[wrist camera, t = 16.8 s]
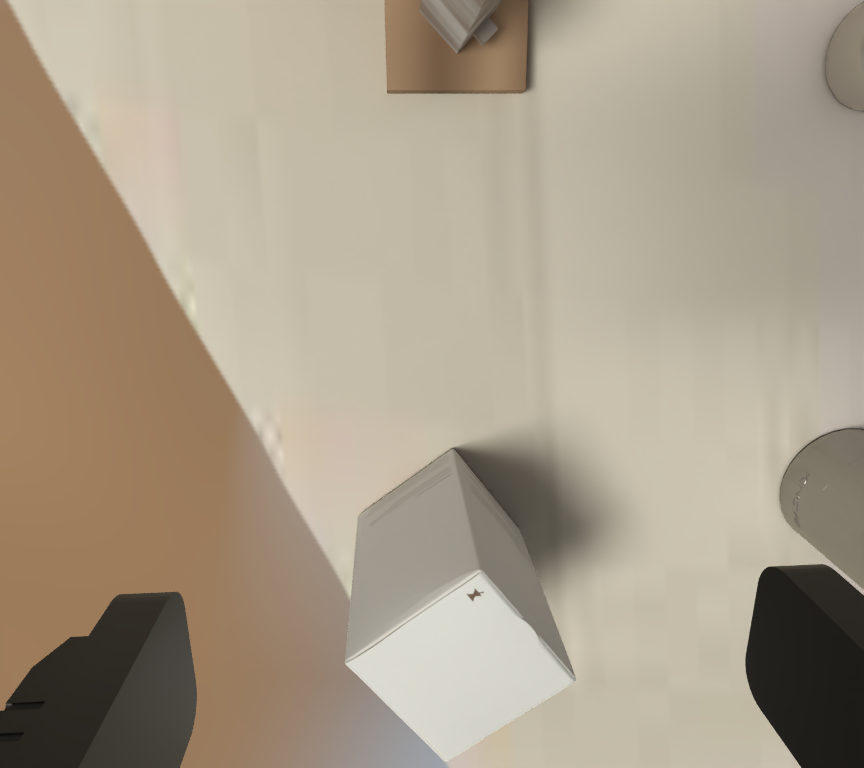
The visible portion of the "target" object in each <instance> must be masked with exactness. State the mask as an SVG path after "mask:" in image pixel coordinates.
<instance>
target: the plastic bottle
mask: <svg viewBox="0 0 864 768" xmlns="http://www.w3.org/2000/svg"><path fill="white" fill-rule="evenodd" d="M826 76H827V80H828V83H829V86H830V88H831V90H832V92H833V94H834V95H835V97H836V98H837V99H838V100H839V101H840V102H841V103H842V104H844V105H845V106H847V107H849V108H851V109H855V110H859V111H864V2H863V3H861V4H860V5H858V6H857V7H855V8H854V9H853V10H852V11H851V12H850V13H849V14H848V15H847V16H846V17H845V18H844V20H843V21H842V22H841V23H840V25H839V26H838V28H837V30H836V32H835V34H834V35H833V38H832V40H831V43H830V46H829V49H828V52H827V57H826Z"/></svg>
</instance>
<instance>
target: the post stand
mask: <svg viewBox="0 0 864 768" xmlns="http://www.w3.org/2000/svg"><path fill="white" fill-rule="evenodd" d="M528 6H529V0H385V28H386V65H387V93H522V92H523V91H525V90H526V67H527V36H528Z"/></svg>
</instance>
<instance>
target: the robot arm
mask: <svg viewBox="0 0 864 768" xmlns="http://www.w3.org/2000/svg"><path fill="white" fill-rule="evenodd" d="M780 504H781V510H782V513H783V515H784V517H785V519H786V521H787V522H788V523H789V525H790V526H791V527H792V528H793V529H794V530H795V531H796V532H797V533H799V534H800V535H801V536H802V537H803V538H804V539H806V540H807V541H808V542H809V543H810V544H811V545H813V546H814V547H815V548H816V549H817V550H818V551H820V552H821V553H822V554H823V555H824V556H825V557H826V558H827V559H829V560H830V561H831V562H832V563H833V564H834V565H836V566H837V567H838V568H839V569H840V570H841V571H843V572H844V573H845V574H846V575H847V576H848V577H850V578H851V579H852V580H853V581H854V582H855V583H857V584H858V585H859V586H860V587H861V588H862V589H864V430H860V429H846V430H841V431H837V432H832V433H830V434H828V435H825V436H823V437H820V438H819V439H817V440H816V441H814V442H812V443H811V444H809V445H808V446H807V447H806V448H805V449H804V450H802V451H801V452H800V453H799V454H798V455H797V457H796V458H795V459H794V460H793V462H792V463H791V464H790V466H789V468H788V470H787V472H786V474H785V475H784V478H783V481H782V485H781V488H780ZM746 674H747V679H748V683H749V687H750V690H751V692H752V695H753V697H754V699H755V701H756V703H757V705H758V706H759V708H760V709H761V711H762V712H763V714H764V715H765V716H766V718H767V719H768V721H769V722H770V724H771V725H772V726H773V728H774V729H775V731H776V732H777V734H778V735H779V736H780V738H781V739H782V741H783V742H784V743H785V745H786V746H787V748H788V749H789V751H790V752H791V753H792V755H793V756H794V758H795V759H796V760H797V762H798V763H799V765H800V766H801V768H864V595H862V594H861V593H860V592H859V591H858V590H857V589H856V588H854V587H853V586H852V585H851V584H850V583H849V582H848V581H846V580H845V579H844V578H843V577H842V576H841V575H839V574H838V573H837V572H836V571H835V570H833V569H832V568H831V567H829V566H827V565H823V564H818V565H796V566H774V567H768V568H766V569H765V570H763V572H762V573H761V575H760V578H759V581H758V587H757V593H756V598H755V604H754V610H753V616H752V622H751V628H750V634H749V640H748V646H747V652H746ZM196 701H197V691H196V680H195V673H194V666H193V659H192V653H191V646H190V639H189V632H188V626H187V618H186V612H185V606H184V601H183V598H182V596H181V595H180V593H178V592H164V593H142V594H120V595H118V596H116V597H115V598H114V599H113V600H112V602H111V603H110V605H109V606H108V607H107V609H106V611H105V612H104V614H103V615H102V617H101V618H100V620H99V621H98V623H97V624H96V626H95V627H94V629H93V630H92V632H91V633H90V635H89V636H84V637H70V638H69V639H68V640H67V641H65V642H64V643H63V644H61V645H60V646H59V647H58V648H56V649H55V650H54V651H53V652H51V653H50V654H49V655H47V656H46V657H45V658H44V659H42V660H41V661H40V662H39V663H37V664H36V665H35V666H33V667H32V668H31V670H30V671H29V673H28V674H27V675H26V677H25V678H24V679H23V681H22V682H21V684H20V685H19V686H18V688H17V689H16V690H15V692H14V693H13V694H12V696H11V697H10V699H9V700H8V701H7V702H6V708H5V710H4V711H0V768H180V765H181V762H182V760H183V757H184V754H185V751H186V749H187V746H188V743H189V740H190V737H191V734H192V729H193V725H194V719H195V712H196Z"/></svg>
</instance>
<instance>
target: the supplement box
mask: <svg viewBox="0 0 864 768" xmlns="http://www.w3.org/2000/svg"><path fill="white" fill-rule="evenodd" d="M345 664H346V665H347V666H348V667H349V668H350V669H351V670H353V672H354V673H356V674H357V675H358V676H359V677H360V678H361V679H362V680H363V681H364V682H365V683H366V684H367V685H368V686H369V687H370V688H371V689H372V690H373V691H374V692H375V693H376V694H377V695H378V696H379V697H380V698H381V699H382V700H383V701H384V702H385V703H386V704H387V705H388V706H389V707H390V708H391V709H392V710H393V711H394V712H395V713H396V714H397V715H398V716H399V717H400V718H401V719H402V720H403V721H404V722H405V723H406V724H407V725H408V726H409V727H410V728H411V729H412V730H413V731H414V732H415V733H416V734H417V735H418V736H419V737H420V738H421V739H422V740H423V741H424V742H426V743H427V745H429V746H430V747H431V748H432V749H433V750H434V751H435V752H436V753H437V754H438V755H439V756H440V758H441V759H442V760H443V761H444V762H448V761H449V760H450V759H452V758H454V757H455V756H457V755H459V754H461V753H462V752H464V751H466V750H467V749H469V748H470V747H472V746H473V745H475V744H477V743H478V742H480V741H481V740H483V739H484V738H485V737H487V736H488V735H490V734H491V733H493V732H495V731H496V730H498V729H500V728H501V727H503V726H504V725H506V724H508V723H509V722H511V721H512V720H514V719H516V718H517V717H519V716H521V715H522V714H524V713H526V712H527V711H529V710H531V709H532V708H534V707H536V706H537V705H539V704H541V703H542V702H544V701H545V700H547V699H549V698H550V697H552V696H554V695H555V694H557V693H558V692H560V691H561V690H563V689H564V688H566V687H567V686H569V685H570V684H572V683H573V682H574V681H576V678H575V675H574V672H573V669H572V666H571V663H570V661H569V658H568V655H567V653H566V650H565V647H564V645H563V642H562V640H561V637H560V634H559V631H558V629H557V626H556V624H555V621H554V619H553V616H552V613H551V611H550V608H549V605H548V603H547V600H546V598H545V595H544V592H543V590H542V587H541V584H540V582H539V579H538V576H537V574H536V571H535V569H534V566H533V563H532V561H531V558H530V555H529V553H528V550H527V547H526V545H525V542H524V539H523V537H522V534H521V532H520V530H519V529H518V527H517V526H516V525H515V523H514V522H513V521H512V520H511V519H510V517H509V516H508V515H507V514H506V512H505V511H504V510H503V509H502V507H501V506H500V505H499V504H498V502H497V501H496V500H495V499H494V497H493V496H492V495H491V494H490V492H489V491H488V490H487V489H486V488H485V486H484V485H483V484H482V483H481V481H480V480H479V479H478V478H477V477H476V475H475V474H474V473H473V472H472V470H471V469H470V468H469V467H468V465H467V464H466V463H465V462H464V461H463V459H462V458H461V457H460V456H459V454H458V453H457V452H456V451H455V450H454V449H451V450H449V451H448V452H447V453H445V454H444V455H442V456H441V457H440V458H438V459H437V460H435V461H434V462H433V463H431V464H430V465H428V466H427V467H426V468H424V469H423V470H421V471H420V472H419V473H417V474H416V475H414V476H413V477H412V478H410V479H409V480H407V481H406V482H405V483H403V484H402V485H400V486H399V487H397V488H396V489H395V490H393V491H392V492H390V493H389V494H388V495H386V496H385V497H383V498H382V499H381V500H379V501H378V502H376V503H375V504H374V505H372V506H371V507H369V508H368V509H367V510H365V511H364V512H363V513H361V514H360V515H359V516H358V522H357V534H356V545H355V557H354V568H353V580H352V591H351V603H350V614H349V625H348V636H347V649H346V658H345Z"/></svg>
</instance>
